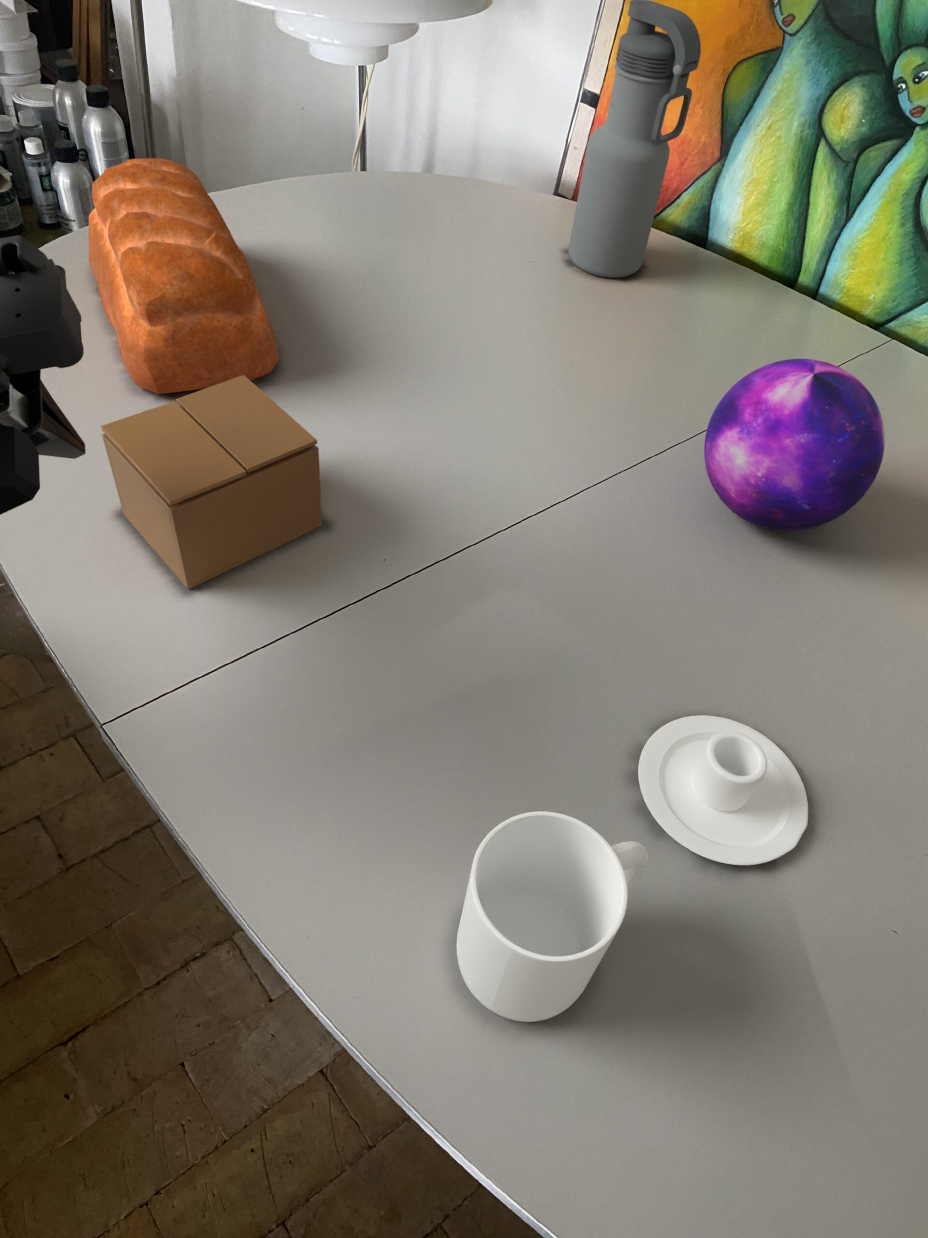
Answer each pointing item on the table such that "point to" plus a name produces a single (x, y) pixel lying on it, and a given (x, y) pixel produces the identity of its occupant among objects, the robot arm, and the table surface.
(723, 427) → the decorative orb
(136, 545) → the table surface
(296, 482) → the carton
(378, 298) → the table surface
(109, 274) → the bread
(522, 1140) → the table surface
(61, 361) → the robot arm
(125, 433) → the flap
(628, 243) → the water bottle
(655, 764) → the candle holder
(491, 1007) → the mug
